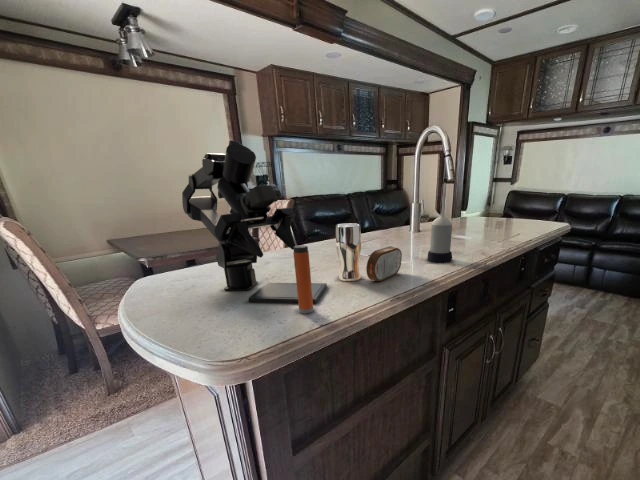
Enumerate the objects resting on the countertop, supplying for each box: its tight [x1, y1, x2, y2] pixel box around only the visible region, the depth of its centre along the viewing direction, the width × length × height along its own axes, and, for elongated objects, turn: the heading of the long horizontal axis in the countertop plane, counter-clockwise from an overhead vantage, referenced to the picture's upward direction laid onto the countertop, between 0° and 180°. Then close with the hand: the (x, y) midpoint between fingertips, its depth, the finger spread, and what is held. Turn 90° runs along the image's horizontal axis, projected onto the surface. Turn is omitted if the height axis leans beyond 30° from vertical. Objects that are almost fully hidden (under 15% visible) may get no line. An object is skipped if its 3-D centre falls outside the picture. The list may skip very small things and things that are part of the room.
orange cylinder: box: [293, 244, 314, 314], centre depth 66 cm, size 3×3×14 cm
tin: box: [365, 245, 403, 282], centre depth 89 cm, size 15×3×8 cm, turn 144°
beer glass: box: [335, 222, 362, 282], centre depth 88 cm, size 7×7×15 cm
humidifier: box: [427, 182, 453, 264], centre depth 104 cm, size 8×8×25 cm
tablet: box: [248, 282, 328, 304], centre depth 78 cm, size 16×12×1 cm
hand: (279, 252), depth 70 cm, fingers open, 9 cm apart
